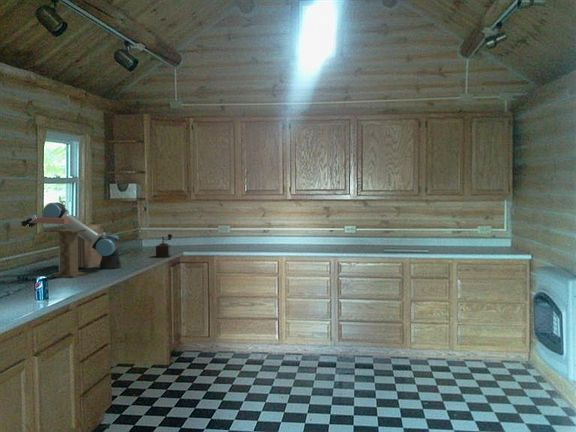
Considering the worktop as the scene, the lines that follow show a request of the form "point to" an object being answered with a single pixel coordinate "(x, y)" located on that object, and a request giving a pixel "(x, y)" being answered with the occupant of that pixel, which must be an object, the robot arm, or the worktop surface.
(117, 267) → the robot arm
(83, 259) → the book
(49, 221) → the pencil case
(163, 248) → the coffee grinder
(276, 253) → the worktop surface
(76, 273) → the shelf stand
